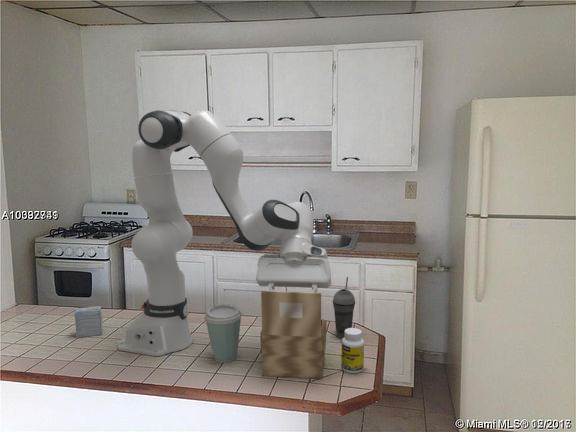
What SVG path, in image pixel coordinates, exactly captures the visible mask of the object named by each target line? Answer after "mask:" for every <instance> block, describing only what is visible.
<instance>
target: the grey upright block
mask: <svg viewBox="0 0 576 432" xmlns="http://www.w3.org/2000/svg"><path fill="white" fill-rule="evenodd" d="M74 321H75V323H74V324H75V332H76V334H75V335H76V339H79V338H87V337H93V336H95V337H96V336H102V335H103V332H104V328H103V327H104V326H103V314H102V306H101V305H98V306H97V305H95V306H90V307H89V306H88V307H79V308H75V311H74Z"/></svg>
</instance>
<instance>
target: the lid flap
mask: <svg viewBox="0 0 576 432" xmlns="http://www.w3.org/2000/svg"><path fill="white" fill-rule="evenodd" d="M260 295H261V296H260V297H261V301H260V302H261V303H260V304H261V307H260V308H261V330H262V335H282V336H303V337H321V319H322V293H321V292H316V293H311V291H310V292H309V291H307V292H305V291H301V292H300V291H278V290H273V291H270V290H261V292H260Z"/></svg>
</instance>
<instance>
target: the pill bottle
mask: <svg viewBox="0 0 576 432" xmlns="http://www.w3.org/2000/svg"><path fill="white" fill-rule="evenodd" d="M344 335H345V337H344V338H343V339H341V351H340V352H341V355H340V356H341V357H340V361H341V362H340V366H341V369H342V370H343V372H346V373H349V374H359V373H361V372H363V370H364V367H365V366H364V365H365V363H364V360H365V357H364V356H365V340H364V338H362V336H363V334H362V330H361V329H360V328H355V327H352V328H348V329H345V333H344Z"/></svg>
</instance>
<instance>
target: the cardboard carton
mask: <svg viewBox="0 0 576 432" xmlns="http://www.w3.org/2000/svg"><path fill="white" fill-rule="evenodd" d="M259 336H260V337H259V338H260V354H261V356H262V358H261V359H262V361H261V364H262V376H263V377H275V378H276V377H279V378H291V379H292V378H295V379H309V380H310V379H312V380H323V374H324V366H325V359H326V358H325V357H326V356H325V355H326V347H327V346H326V345H327V320H325V319H323V318H321V337H303V336H282V335H262V329H261V331H260V335H259Z"/></svg>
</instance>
